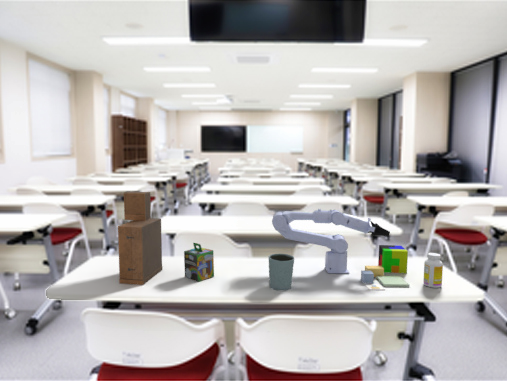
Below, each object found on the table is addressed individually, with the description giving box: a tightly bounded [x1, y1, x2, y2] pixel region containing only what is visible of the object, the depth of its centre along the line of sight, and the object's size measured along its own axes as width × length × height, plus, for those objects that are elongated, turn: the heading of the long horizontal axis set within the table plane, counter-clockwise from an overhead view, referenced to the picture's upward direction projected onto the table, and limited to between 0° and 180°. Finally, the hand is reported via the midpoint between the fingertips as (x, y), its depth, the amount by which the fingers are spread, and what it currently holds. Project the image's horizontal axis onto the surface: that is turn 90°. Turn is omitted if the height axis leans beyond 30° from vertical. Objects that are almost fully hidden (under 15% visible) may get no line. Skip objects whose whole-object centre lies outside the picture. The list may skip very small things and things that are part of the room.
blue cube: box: [360, 270, 375, 284], centre depth 154 cm, size 4×4×4 cm
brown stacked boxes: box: [117, 191, 163, 286], centre depth 156 cm, size 19×14×35 cm
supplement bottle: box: [423, 252, 444, 289], centre depth 149 cm, size 7×7×13 cm
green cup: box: [268, 253, 295, 291], centre depth 147 cm, size 10×10×12 cm
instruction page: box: [365, 284, 386, 291], centre depth 147 cm, size 6×5×1 cm
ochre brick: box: [364, 265, 385, 278], centre depth 161 cm, size 7×4×4 cm, turn 89°
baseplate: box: [375, 275, 410, 288], centre depth 153 cm, size 10×10×1 cm
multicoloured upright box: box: [183, 242, 215, 283], centre depth 157 cm, size 9×9×15 cm
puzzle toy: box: [377, 244, 409, 274], centre depth 169 cm, size 10×10×10 cm
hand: (386, 232), depth 163 cm, fingers open, 7 cm apart
